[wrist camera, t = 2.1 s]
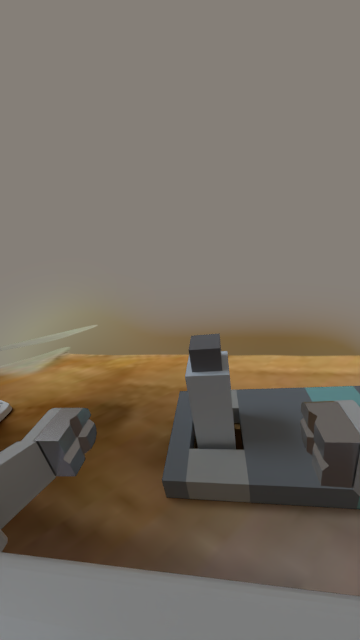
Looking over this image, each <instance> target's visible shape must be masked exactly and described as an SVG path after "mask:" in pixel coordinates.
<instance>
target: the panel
mask: <svg viewBox="0 0 360 640" xmlns="http://www.w3.org/2000/svg"><path fill="white" fill-rule="evenodd" d="M231 397H232V408H233V420H234V423H240V428H241V436H242V444H243V450H235V449H194V444H195V429H194V423H193V418H192V412H191V407H190V401H189V395H188V391H180V393H179V398H178V403H177V408H176V413H175V418H174V423H173V428H172V433H171V438H170V443H169V448H168V453H167V458H166V463H165V468H164V473H163V478H162V483H163V486H164V490H165V493H166V497H169V498H185V499H202V500H218V501H234V502H251V503H267V504H284V505H300V506H317V507H333V508H349V509H360V496H359V495H358V494H357V493H356V492H355V491H354V490H353V488H344V487H329V486H321V485H320V483H319V480H318V478H317V475H316V473H315V471H314V468H313V466H312V455H311V454H310V453H308V452H307V451H306V449H305V446H304V443H303V440H302V437H301V430H300V421H301V420H302V419H303V418H304V417H303V415H302V413H301V404H302V402H315V401H338V400H353V401H355V402H356V403H357V404H358V406H359V407H360V386H343V387H310V388H278V389H245V390H231Z"/></svg>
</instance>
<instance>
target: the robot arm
mask: <svg viewBox="0 0 360 640" xmlns="http://www.w3.org/2000/svg"><path fill="white" fill-rule="evenodd" d="M11 410H12V407H11V406H10V404H9V403H7V402H4V401H2V400H0V421H1V420H3V419H4V418H5V417H6V416H7V415H8V414H9V412H10V411H11ZM301 413H302V415H303V417H304V418H303V419H302V420H301V421H300V430H301V437H302V440H303V443H304V446H305V449H306V451H307V452H308V453H310V454H311V455H312V466H313V468H314V471H315V473H316V475H317V478H318V480H319V483H320V485H321V486H329V487H344V488H353V490H354V491H355V492H356V493H357V494H358V495H359V496H360V407H359V406H358V404H357V403H356V402H355V401H353V400H338V401H315V402H302V404H301ZM90 416H91V414H90V412H89V410H88V409H87V408H53V409H51V410H49V411H48V412H47V413H46V414H45V415H44V416H43V417H42V419H41V420H40V421H39V422H38V423H37V424H36V425H35V426H34V427H33V428H32V430H31V431H30V432H29V433H28V434H27V435H26V436H25V437H24V438H23V439H22V441H21V442H16V443H14V444H12V445H11V446H9V447H8V448H6V449H4V450H3V451H1V452H0V640H360V596H354V595H346V594H337V593H329V592H321V591H313V590H305V589H297V588H289V587H281V586H273V585H264V584H256V583H248V582H240V581H232V580H224V579H216V578H208V577H199V576H191V575H183V574H175V573H167V572H159V571H151V570H143V569H134V568H126V567H118V566H110V565H102V564H94V563H86V562H78V561H69V560H61V559H53V558H45V557H37V556H29V555H20V554H12V553H4V552H2V550H3V549H4V547H5V546H6V544H7V539H8V538H7V536H6V535H5V534H4V533H3V531H2V530H1V529H2V528H3V527H4V526H5V525H6V524H7V523H8V522H9V521H10V520H11V519H12V518H13V517H14V516H15V515H17V514H18V513H19V512H20V511H21V510H22V509H23V508H24V507H25V506H26V505H27V504H28V503H29V502H30V501H31V500H32V499H33V498H35V497H36V496H37V495H38V494H39V493H40V492H41V491H42V490H43V489H44V488H45V487H46V486H47V485H48V484H49V483H50V482H51V481H53V480H54V479H55V476H76V475H77V473H78V471H79V470H80V468H81V466H82V464H83V463H84V461H85V453H86V452H87V451H89V450H90V449H91V448H92V446H93V444H94V442H95V439H96V434H97V432H96V426H95V424H94V423H93V422H92V421H91V420H90Z"/></svg>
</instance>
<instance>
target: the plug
mask: <svg viewBox="0 0 360 640" xmlns="http://www.w3.org/2000/svg"><path fill="white" fill-rule="evenodd" d="M185 379H186V384H187V390H188V395H189V401H190V407H191V412H192V418H193V423H194V429H195V435H196V440H197V446H198V449H235V450H236V442H235V431H234V420H233V408H232V397H231V386H230V374H229V365H228V355H227V351H221V345H220V335H219V334H211V335H210V334H209V335H197V336H191V340H190V346H189V359H188V364H187V369H186V375H185Z"/></svg>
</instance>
